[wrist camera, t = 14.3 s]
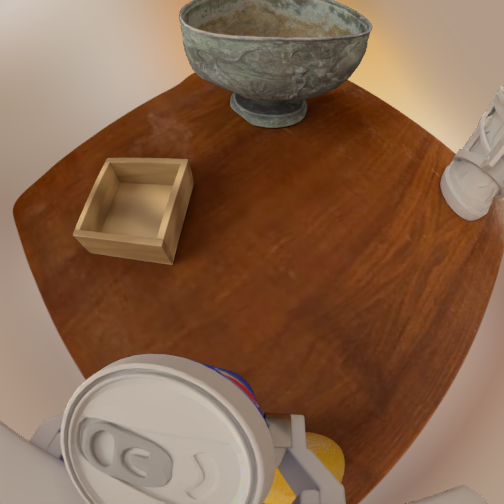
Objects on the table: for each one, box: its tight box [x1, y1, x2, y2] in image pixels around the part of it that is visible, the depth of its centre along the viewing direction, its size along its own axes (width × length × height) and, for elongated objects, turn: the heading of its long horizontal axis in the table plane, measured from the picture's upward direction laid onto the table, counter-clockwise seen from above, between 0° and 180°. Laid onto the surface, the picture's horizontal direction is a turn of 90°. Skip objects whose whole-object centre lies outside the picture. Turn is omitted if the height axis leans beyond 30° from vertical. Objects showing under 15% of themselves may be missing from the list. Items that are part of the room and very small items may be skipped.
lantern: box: [440, 86, 504, 221], centre depth 25 cm, size 13×10×25 cm
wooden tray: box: [73, 158, 194, 265], centre depth 32 cm, size 12×12×5 cm
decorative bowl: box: [179, 0, 372, 128], centre depth 35 cm, size 26×26×20 cm
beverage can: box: [61, 354, 276, 504], centre depth 11 cm, size 5×5×15 cm
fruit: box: [263, 432, 345, 504], centre depth 19 cm, size 9×8×8 cm
